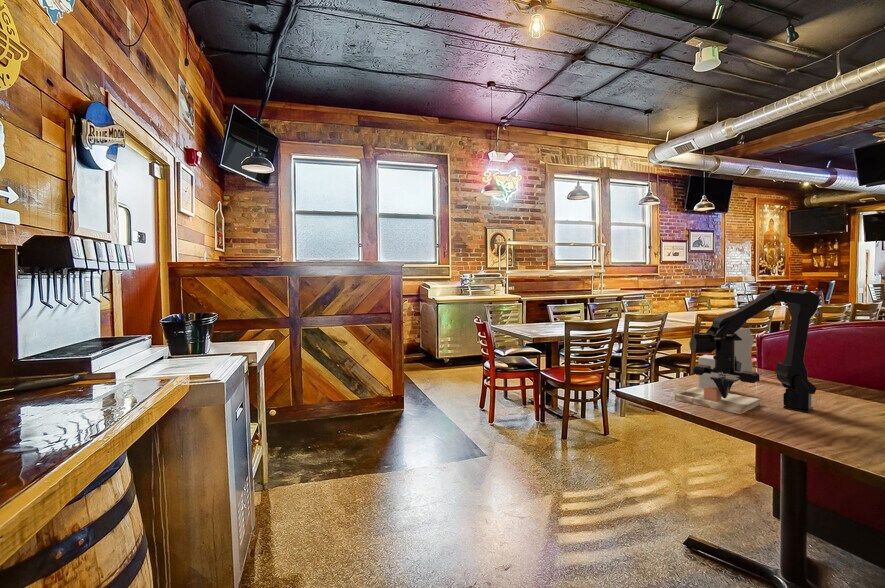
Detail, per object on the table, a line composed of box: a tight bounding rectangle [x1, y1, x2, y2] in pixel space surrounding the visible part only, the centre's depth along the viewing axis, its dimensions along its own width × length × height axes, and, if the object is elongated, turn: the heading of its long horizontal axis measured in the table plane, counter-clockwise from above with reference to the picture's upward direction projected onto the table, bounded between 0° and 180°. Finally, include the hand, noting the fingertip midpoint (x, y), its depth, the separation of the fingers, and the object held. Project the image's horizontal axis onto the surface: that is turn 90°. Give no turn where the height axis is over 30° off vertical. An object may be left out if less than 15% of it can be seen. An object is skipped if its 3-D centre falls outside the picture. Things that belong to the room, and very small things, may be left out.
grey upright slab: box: [727, 327, 755, 373], centre depth 187 cm, size 11×4×22 cm, turn 61°
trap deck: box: [674, 386, 761, 415], centre depth 154 cm, size 21×16×2 cm
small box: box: [698, 354, 721, 389], centre depth 170 cm, size 8×6×13 cm
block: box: [704, 386, 721, 401], centre depth 151 cm, size 4×4×4 cm
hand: (724, 397), depth 148 cm, fingers closed
